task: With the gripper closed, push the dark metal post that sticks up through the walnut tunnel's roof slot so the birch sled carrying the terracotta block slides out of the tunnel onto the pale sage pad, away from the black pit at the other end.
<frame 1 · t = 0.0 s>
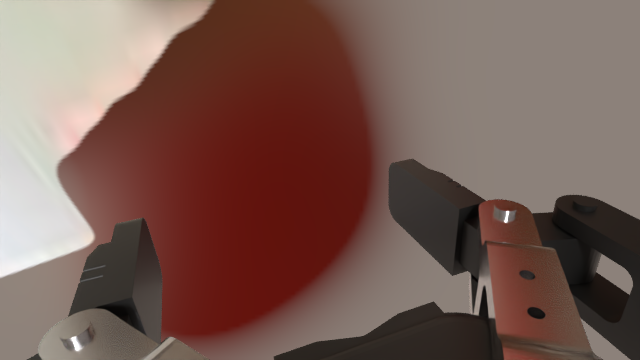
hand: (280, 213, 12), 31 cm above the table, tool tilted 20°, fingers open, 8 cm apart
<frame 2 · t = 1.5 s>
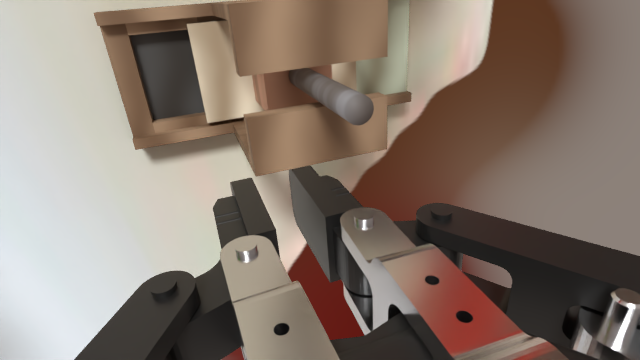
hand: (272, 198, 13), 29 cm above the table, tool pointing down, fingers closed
tunnel: (274, 61, 40), on the table
sled: (308, 80, 30), point 11 cm above the table, slide at 0.0 cm
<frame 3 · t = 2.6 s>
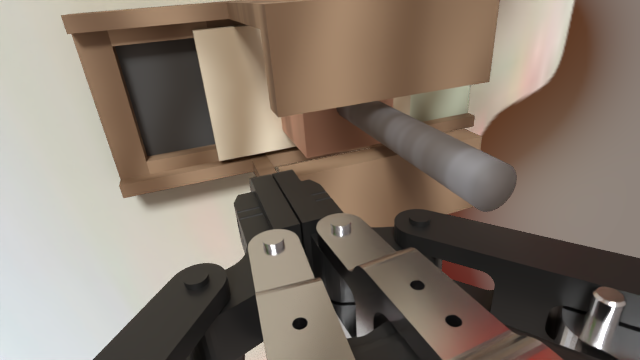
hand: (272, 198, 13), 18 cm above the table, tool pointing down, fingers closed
tunnel: (305, 78, 31), on the table
sled: (368, 114, 21), point 11 cm above the table, slide at 0.0 cm
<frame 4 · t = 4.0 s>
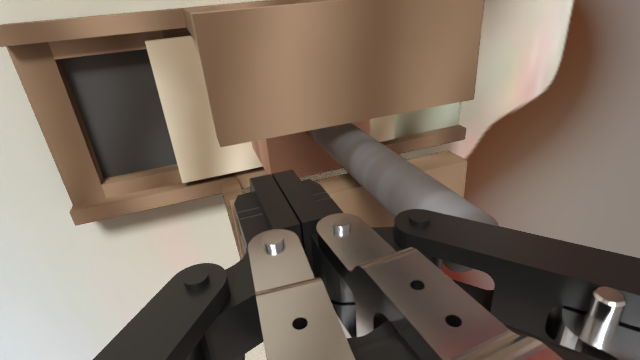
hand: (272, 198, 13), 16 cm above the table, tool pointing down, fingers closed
tunnel: (279, 90, 28), on the table
sled: (337, 136, 18), point 11 cm above the table, slide at 0.0 cm
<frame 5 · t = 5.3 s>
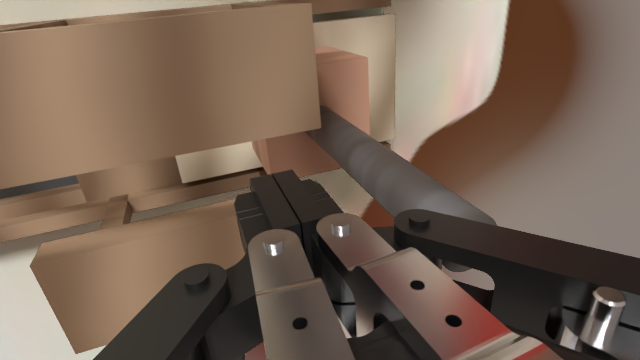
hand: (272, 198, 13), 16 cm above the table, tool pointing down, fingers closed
tunnel: (177, 106, 26), on the table
sled: (336, 136, 18), point 11 cm above the table, slide at 7.2 cm, touching hand
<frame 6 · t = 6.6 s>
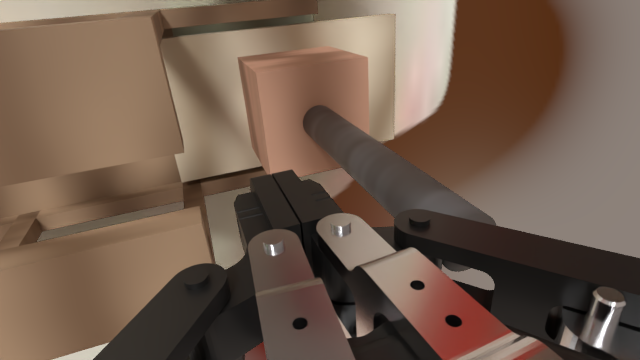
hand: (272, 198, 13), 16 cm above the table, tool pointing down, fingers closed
tunnel: (93, 117, 25), on the table
sled: (336, 136, 18), point 11 cm above the table, slide at 12.4 cm, touching hand
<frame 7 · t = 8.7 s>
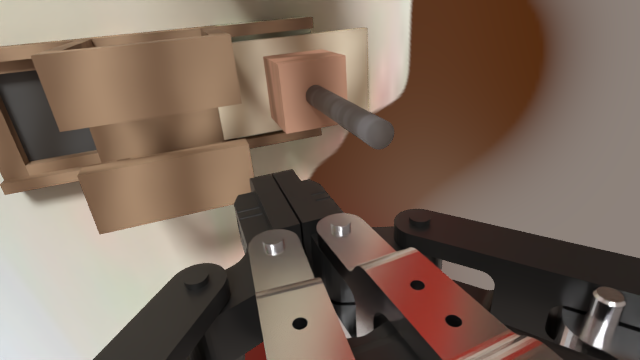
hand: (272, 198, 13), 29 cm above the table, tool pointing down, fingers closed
tunnel: (165, 96, 38), on the table
sled: (325, 101, 31), point 11 cm above the table, slide at 12.6 cm
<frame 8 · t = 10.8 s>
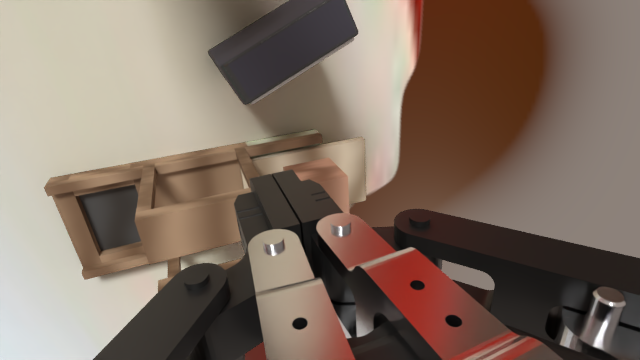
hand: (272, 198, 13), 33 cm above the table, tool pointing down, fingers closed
tunnel: (205, 196, 48), on the table
sled: (333, 216, 41), point 11 cm above the table, slide at 12.6 cm
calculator: (257, 37, 43), on the table
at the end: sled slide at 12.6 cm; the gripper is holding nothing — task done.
